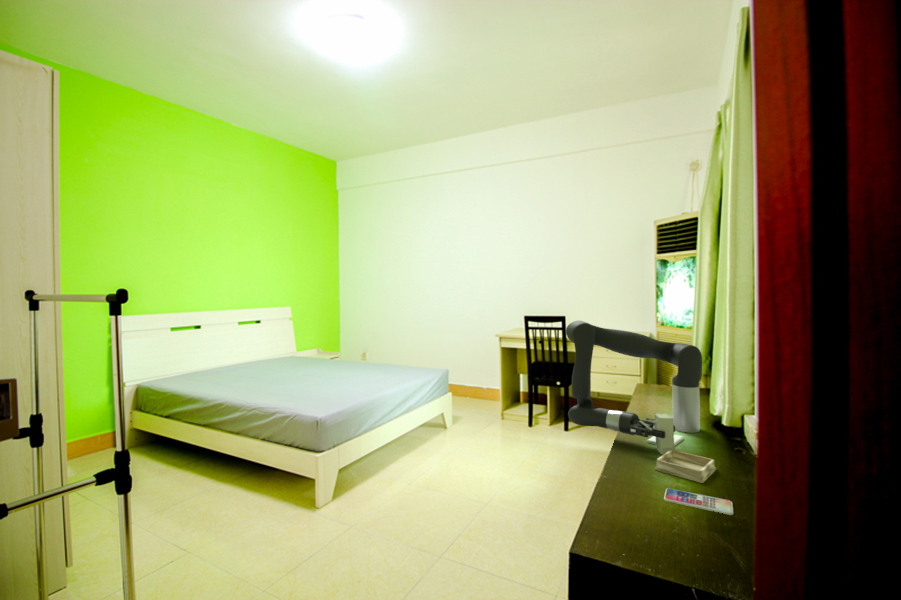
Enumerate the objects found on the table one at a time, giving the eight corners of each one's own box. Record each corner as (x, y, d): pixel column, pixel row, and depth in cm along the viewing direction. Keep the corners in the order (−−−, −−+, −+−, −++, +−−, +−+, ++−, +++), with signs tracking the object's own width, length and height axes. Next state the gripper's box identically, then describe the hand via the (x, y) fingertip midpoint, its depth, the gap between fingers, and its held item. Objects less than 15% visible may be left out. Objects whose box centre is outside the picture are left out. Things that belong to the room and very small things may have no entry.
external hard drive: (683, 440, 153) (671, 449, 145) (660, 435, 159) (646, 443, 151) (683, 436, 153) (671, 445, 145) (660, 431, 159) (646, 439, 151)
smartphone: (733, 513, 100) (663, 498, 108) (733, 518, 100) (663, 502, 108) (732, 500, 106) (665, 487, 114) (732, 504, 107) (666, 490, 114)
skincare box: (674, 455, 138) (674, 418, 138) (660, 454, 139) (659, 418, 139) (668, 448, 144) (668, 413, 144) (654, 448, 145) (654, 412, 145)
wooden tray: (670, 458, 136) (670, 448, 136) (716, 469, 127) (716, 459, 126) (654, 469, 127) (654, 459, 127) (702, 483, 118) (702, 472, 118)
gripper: (612, 415, 147) (661, 425, 135) (630, 407, 157) (677, 416, 145) (613, 437, 147) (661, 448, 135) (631, 428, 157) (678, 438, 145)
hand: (670, 432), depth 140 cm, fingers open, 8 cm apart
